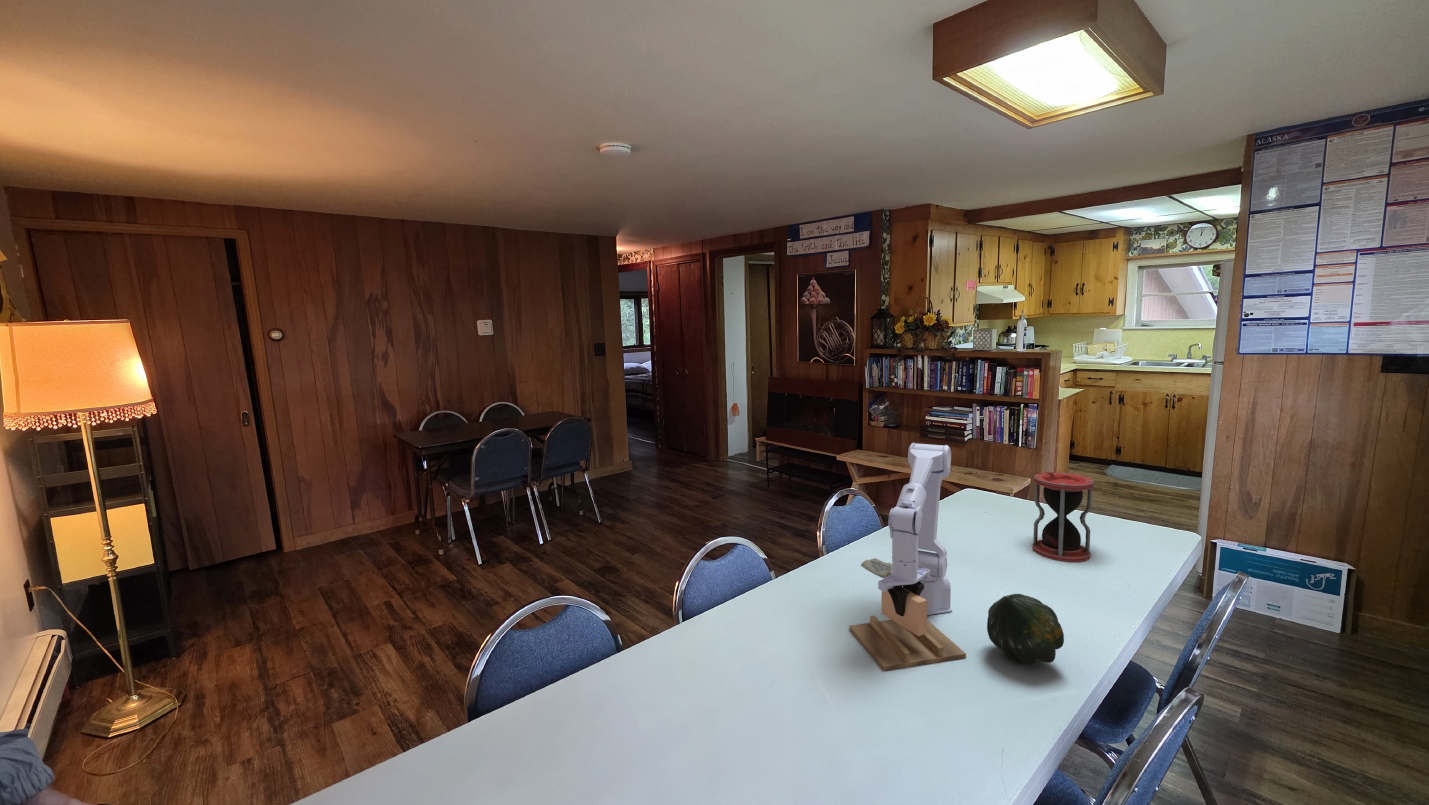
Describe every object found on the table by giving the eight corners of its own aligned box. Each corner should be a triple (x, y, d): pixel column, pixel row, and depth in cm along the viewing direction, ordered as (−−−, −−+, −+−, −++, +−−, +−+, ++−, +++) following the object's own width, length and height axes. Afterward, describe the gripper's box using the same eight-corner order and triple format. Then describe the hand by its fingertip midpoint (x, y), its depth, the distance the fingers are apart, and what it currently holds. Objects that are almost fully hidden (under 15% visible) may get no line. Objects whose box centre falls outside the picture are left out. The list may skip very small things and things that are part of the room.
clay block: (889, 611, 139) (889, 580, 138) (926, 633, 128) (927, 600, 127) (881, 613, 138) (881, 582, 137) (918, 636, 127) (918, 602, 126)
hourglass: (1089, 549, 184) (1093, 474, 181) (1091, 567, 170) (1094, 487, 167) (1033, 540, 193) (1035, 469, 190) (1030, 557, 179) (1032, 481, 176)
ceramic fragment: (908, 566, 171) (882, 569, 167) (907, 576, 171) (881, 579, 167) (884, 555, 181) (859, 557, 177) (883, 565, 181) (858, 567, 177)
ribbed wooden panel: (922, 618, 144) (922, 607, 144) (966, 657, 127) (966, 645, 126) (849, 629, 140) (849, 618, 140) (884, 670, 123) (884, 658, 123)
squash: (1034, 685, 116) (1036, 617, 114) (972, 650, 129) (973, 588, 127) (1075, 664, 123) (1078, 599, 121) (1011, 633, 136) (1013, 574, 134)
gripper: (914, 546, 138) (914, 598, 139) (869, 558, 131) (869, 613, 133) (937, 555, 131) (937, 610, 133) (890, 569, 125) (890, 626, 127)
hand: (904, 612), depth 133 cm, fingers closed on clay block, 2 cm apart
